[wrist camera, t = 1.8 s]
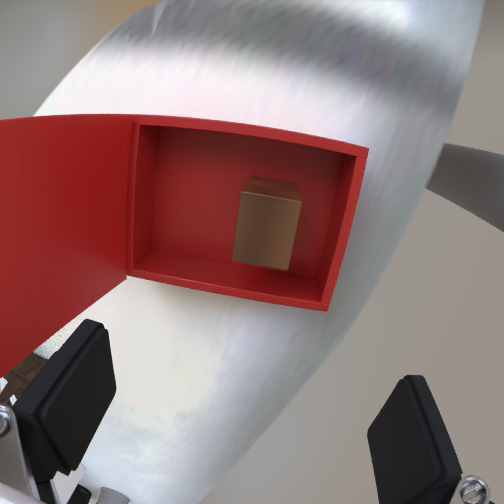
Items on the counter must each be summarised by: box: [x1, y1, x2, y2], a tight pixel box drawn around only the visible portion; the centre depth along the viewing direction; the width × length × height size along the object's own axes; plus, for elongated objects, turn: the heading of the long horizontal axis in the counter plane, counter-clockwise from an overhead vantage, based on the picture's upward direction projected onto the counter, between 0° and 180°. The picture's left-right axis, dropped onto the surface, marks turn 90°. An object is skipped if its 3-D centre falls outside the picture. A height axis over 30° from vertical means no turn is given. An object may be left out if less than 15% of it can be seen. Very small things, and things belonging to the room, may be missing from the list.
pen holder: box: [67, 484, 91, 504], centre depth 60 cm, size 9×9×10 cm
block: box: [231, 175, 302, 271], centre depth 24 cm, size 4×5×7 cm
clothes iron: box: [0, 352, 48, 408], centre depth 37 cm, size 8×16×13 cm, turn 166°
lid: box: [0, 114, 133, 378], centre depth 15 cm, size 18×14×5 cm
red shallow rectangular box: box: [126, 114, 369, 312], centre depth 26 cm, size 18×14×5 cm
